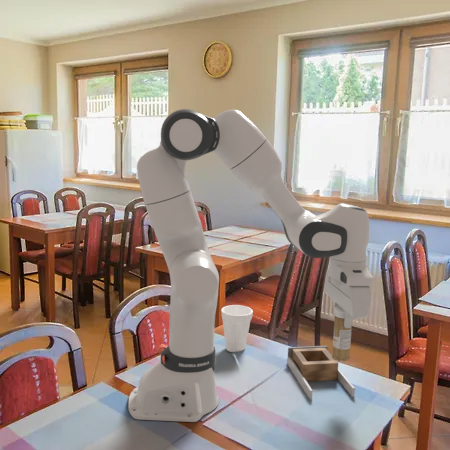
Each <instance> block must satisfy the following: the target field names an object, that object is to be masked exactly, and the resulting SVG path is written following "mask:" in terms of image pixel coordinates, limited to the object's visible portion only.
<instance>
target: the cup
mask: <svg viewBox="0 0 450 450" xmlns="http://www.w3.org/2000/svg"><path fill="white" fill-rule="evenodd" d="M220 310H221V311H220V312H221V318H222V326H223V333H224V343H225V350H226V351H227V352H230V353H235V352H242V351H244V350H246V347H247V342H248V336H249V330H250V324H251V320H252V318H253V315H254V314H253V313H254V311H253V309H252V308H250V307H249V306H246V305H241V304H231V305H226V306H223V307H222V308H221V309H220Z"/></svg>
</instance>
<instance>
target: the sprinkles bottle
mask: <svg viewBox="0 0 450 450" xmlns="http://www.w3.org/2000/svg"><path fill="white" fill-rule="evenodd" d="M333 316H334V317H333V318H334V321H333V335H332V336H333V337H332V353H331V355H332V358H333V359H335V360H336V361H337V362H349V360H351V359H350V358H351V356H350V353H351V352H350V350H351V342H352V340H351V339H352V327H351V328H345V327H344V326H343V319H345V316H346V315H345V311H344V310H343V309H342V308H341V307H340V306H336V307H335V308H334V307H333Z"/></svg>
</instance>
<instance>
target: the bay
mask: <svg viewBox="0 0 450 450" xmlns="http://www.w3.org/2000/svg"><path fill="white" fill-rule="evenodd" d="M328 347H329V346H328V345H316V346H313V345H312V346H291V347H290V346H288V347H287V361H286V364H287V366H288V367H289V369H290V371H291V372H292V375H293V376H294V377H295V379H296V381H298V384H299V385H300V386H301V388H302V389H303V391H304V392H305V395H306V396H307V397H308V399H309V400H311V401H312V400H313V391H314V390H313V388H312V387H311V385H310V384H309V383H308V382H307V381H306V380H305V378H304V377H303V375H302V374H301V372H300V371H299V369H298V368H297V366H296V365H295V363H294V362H293V360H292V349H304V348H326V349H327V350H328V351H329V349H328ZM337 380H338V382H339V383H340V384H341V385H342V387H344V389H345V390H346V391H347V392H348V394H349V395H350V397H351V398H355V394H356V393H355V390H356V387H355V386H354V385H353V384H352V383H351V382H350V380H349V379H348V378H347V377H346V376H345V375H344V373H343V372H342V370H340V368H339V367H338V375H337Z"/></svg>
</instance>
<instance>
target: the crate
mask: <svg viewBox="0 0 450 450" xmlns="http://www.w3.org/2000/svg"><path fill="white" fill-rule="evenodd" d="M292 360H293V362H294V363H295V365H296V366H297V368H298V369H299V371H300V372H301V374H302V375H303V377H304V378H305V380H306V381H307V383H308V382H323V381H337V380H338V379H337V375H338V368H339V361H337V360H335V359H333V358H332V353H330V351H329V349H328V350H327V349H326V348H304V349H292Z"/></svg>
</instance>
